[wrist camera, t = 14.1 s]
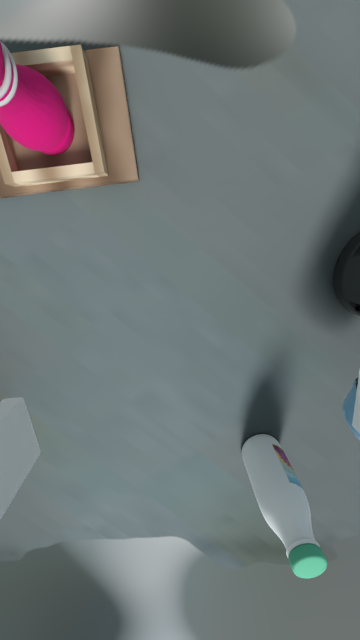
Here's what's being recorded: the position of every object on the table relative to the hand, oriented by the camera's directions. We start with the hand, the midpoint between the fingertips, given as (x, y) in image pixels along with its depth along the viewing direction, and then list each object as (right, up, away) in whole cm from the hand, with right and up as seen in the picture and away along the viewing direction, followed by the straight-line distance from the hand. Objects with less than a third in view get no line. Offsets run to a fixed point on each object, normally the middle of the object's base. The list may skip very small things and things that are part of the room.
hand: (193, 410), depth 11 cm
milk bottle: (+15, -22, +43) cm, 50 cm away
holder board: (-17, +28, +24) cm, 41 cm away
